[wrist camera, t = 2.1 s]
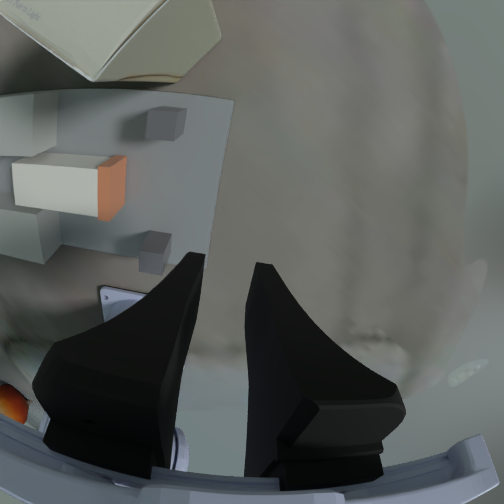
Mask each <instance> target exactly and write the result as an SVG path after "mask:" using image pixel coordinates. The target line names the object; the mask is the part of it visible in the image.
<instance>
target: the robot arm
mask: <svg viewBox="0 0 504 504" xmlns="http://www.w3.org/2000/svg"><path fill="white" fill-rule="evenodd" d="M205 256H206V254H202V253H196V252H190V251H189V252H188V253H186V254H185V256H184V257H183V258H182V260H181V261H180V262H179V263H178V264H177V266H176V267H175V268H174V269H173V270H172V271H171V272H170V273H169V274H168V275H167V276H166V277H165V278H164V279H163V280H162V281H161V282H160V283H159V284H158V285H157V286H156V287H155V288H153V289H152V290H151V291H150V292H149V293H148V294H142V293H137V292H132V291H126V290H121V289H116V288H111V287H106V286H103V287H102V288H101V290H100V296H101V303H102V310H103V316H104V323H102V324H100V325H98V326H96V327H94V328H92V329H90V330H88V331H85V332H83V333H80V334H78V335H75V336H72V337H69V338H67V339H64V340H61V341H58V342H55V343H54V344H53V346H52V347H51V349H50V350H49V351H48V353H47V354H46V356H45V358H44V360H43V361H42V363H41V365H40V367H39V369H38V372H37V374H36V376H35V378H34V380H33V382H32V389H33V391H34V393H35V396H36V398H37V399H38V401H39V403H40V404H41V406H42V407H43V409H44V410H45V412H44V415H43V418H42V421H41V424H40V427H39V431H37V430H35V429H33V428H30V427H28V426H26V425H24V424H22V423H20V422H17V421H15V420H13V419H11V418H9V417H7V416H5V415H3V414H1V413H0V490H2V491H4V492H5V493H7V494H9V495H10V496H12V497H14V498H16V499H18V500H20V501H22V502H24V503H26V504H465V503H467V502H468V501H471V500H473V499H474V498H476V497H478V496H480V495H481V494H484V493H485V492H487V491H489V490H490V489H492V488H494V487H495V486H497V485H498V484H499V480H498V477H497V474H496V471H495V468H494V465H493V462H492V460H491V457H490V455H489V452H488V449H487V446H486V444H485V441H484V439H483V437H482V434H478V435H475V436H472V437H470V438H466V439H464V440H462V441H460V442H458V443H456V444H455V445H454V446H452V447H451V448H450V449H449V450H448V451H447V452H444V453H440V454H437V455H434V456H430V457H426V458H423V459H419V460H415V461H411V462H407V463H402V464H398V465H393V466H388V467H383V468H382V464H381V459H380V455H379V454H381V453H382V452H383V445H382V440H383V439H384V438H385V437H386V436H388V435H389V434H390V433H391V432H392V431H393V430H394V429H395V428H397V427H398V425H399V424H400V423H401V422H402V421H403V419H404V417H405V415H406V409H405V406H404V403H403V401H402V398H401V395H400V392H399V390H398V387H397V385H396V384H395V383H393V382H391V381H389V380H388V379H386V378H384V377H382V376H381V375H379V374H377V373H375V372H374V371H372V370H370V369H369V368H367V367H366V366H364V365H363V364H362V363H360V362H359V361H357V360H356V359H354V358H353V357H352V356H350V355H349V354H348V353H347V352H345V351H344V350H343V349H342V348H341V347H339V346H338V345H337V344H336V343H335V342H333V341H332V340H331V339H330V338H329V337H328V336H327V335H326V334H325V333H324V332H323V331H322V330H321V329H320V328H319V327H318V326H317V325H316V324H315V323H314V322H313V321H312V319H311V318H310V317H309V316H308V315H307V313H306V312H305V311H304V310H303V309H302V307H301V306H300V305H299V304H298V302H297V301H296V299H295V298H294V297H293V295H292V294H291V292H290V291H289V289H288V288H287V286H286V285H285V283H284V282H283V280H282V279H281V277H280V276H279V274H278V272H277V271H276V269H275V268H274V266H273V265H272V264H265V263H259V262H256V265H255V269H254V273H253V277H252V281H251V285H250V289H249V293H248V297H247V301H246V309H245V340H246V353H247V365H248V379H249V394H248V422H247V441H246V457H245V469H244V477H234V476H220V475H209V474H200V473H192V472H187V468H188V462H189V447H188V443H187V440H186V438H185V435H184V433H183V431H182V430H181V429H180V428H177V427H175V420H176V412H177V405H178V397H179V390H180V383H181V377H182V372H183V370H184V365H185V360H186V356H187V352H188V349H189V345H190V341H191V338H192V334H193V330H194V327H195V323H196V319H197V313H198V307H199V301H200V294H201V286H202V278H203V270H204V263H205ZM106 296H107V297H106Z"/></svg>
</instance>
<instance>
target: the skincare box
mask: <svg viewBox="0 0 504 504" xmlns="http://www.w3.org/2000/svg"><path fill="white" fill-rule="evenodd" d="M0 14H1V15H2V16H3V17H4V18H5V19H7V20H8V21H9V22H10V23H12V24H13V25H14V26H16V27H17V28H18V29H19V30H21V31H22V32H23V33H25V34H26V35H27V36H29V37H30V38H32V39H33V40H34V41H36V42H37V43H38V44H39V45H41V46H42V47H44V48H45V49H46V50H48V51H49V52H51V53H52V54H53V55H54V56H56V57H57V58H58V59H60V60H61V61H63V62H64V63H66V64H67V65H68V66H70V67H71V68H72V69H73V70H75V71H76V72H78V73H79V74H81V75H82V76H84V77H85V78H86V79H87V80H89V81H91V82H109V81H140V82H142V81H145V82H169V83H177V82H178V81H179V80H180V79H181V78H182V77H183V76H184V75H185V74H186V73H187V72H188V71H189V70H190V69H191V68H192V67H193V66H194V65H195V64H196V63H197V62H198V61H199V60H200V59H201V58H202V57H204V56H205V55H206V54H207V53H208V52H209V51H210V50H211V49H212V48H213V47H214V46H215V45H216V44H217V43H218V42H219V41H220V40H221V39H222V35H221V32H220V29H219V25H218V22H217V19H216V16H215V12H214V9H213V5H212V2H211V0H0Z"/></svg>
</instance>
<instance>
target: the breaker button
mask: <svg viewBox="0 0 504 504" xmlns="http://www.w3.org/2000/svg"><path fill="white" fill-rule="evenodd" d="M126 164H127V156H124V155H115V156H113V157H104V156H92V155H78V154H63V153H43V152H41V153H39V154H37V155H35V156H33V157H26V156H25V157H23V158H21V159H19V160H17V161H15V162H13V163H12V175H13V187H14V197H15V205H19V206H26V207H33V208H40V209H47V210H54V211H61V212H67V213H74V214H81V215H88V216H94V217H98V220H101V221H108V222H110V221H111V219H112V218H113V217H114V216H115V215H116V214H117V212H118V211H119V210H120V209H121V208H122V207H123V206H124V204H125V183H126Z"/></svg>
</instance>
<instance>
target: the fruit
mask: <svg viewBox="0 0 504 504" xmlns="http://www.w3.org/2000/svg"><path fill="white" fill-rule="evenodd" d="M32 402H33V401H27V400H26V399H25V398H24V397H23V396H22V395H21V394H20V393H19V392H18V391H17V390H16V389H15V388H14V387H13V386H12V385H7V384H5V385H0V413H1V414H3V415H5V416H7V417H9V418H11V419H13V420H15V421H17V422H20V423H22V424H24V423H25V422H26V420H27V415H28V410H29V403H32Z"/></svg>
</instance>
